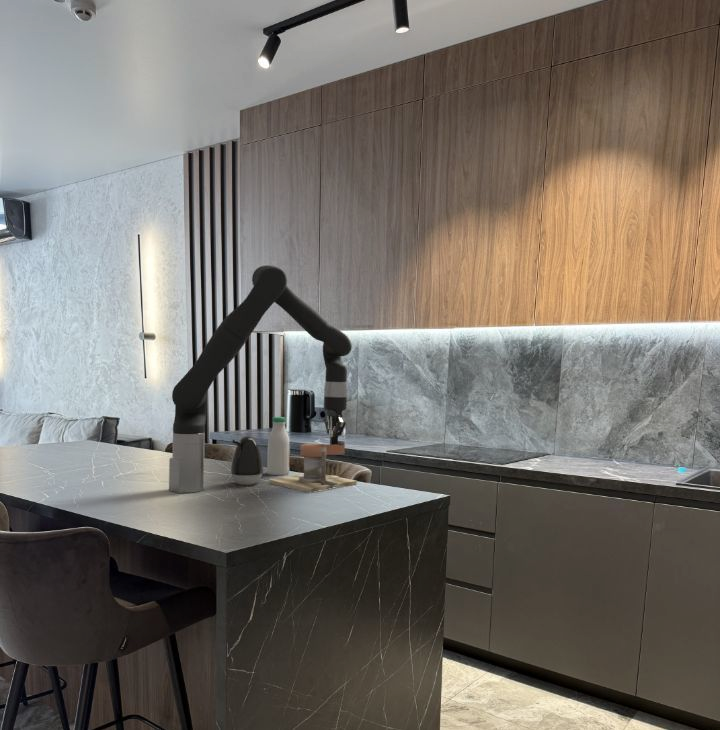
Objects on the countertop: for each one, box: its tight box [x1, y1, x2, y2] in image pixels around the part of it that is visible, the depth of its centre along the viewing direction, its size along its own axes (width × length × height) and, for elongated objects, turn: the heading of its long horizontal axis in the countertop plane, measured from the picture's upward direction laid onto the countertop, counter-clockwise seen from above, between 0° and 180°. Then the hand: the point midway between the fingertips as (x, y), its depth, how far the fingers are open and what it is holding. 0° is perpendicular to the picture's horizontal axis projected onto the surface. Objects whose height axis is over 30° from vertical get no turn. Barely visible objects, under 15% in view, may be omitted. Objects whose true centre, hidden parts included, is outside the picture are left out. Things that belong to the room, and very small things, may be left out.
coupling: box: [299, 440, 346, 457], centre depth 192 cm, size 14×8×4 cm, turn 101°
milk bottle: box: [266, 416, 291, 476], centre depth 209 cm, size 8×8×20 cm
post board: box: [268, 448, 358, 493], centre depth 191 cm, size 20×20×12 cm
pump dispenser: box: [230, 436, 264, 486], centre depth 189 cm, size 10×10×15 cm
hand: (333, 448), depth 195 cm, fingers closed
